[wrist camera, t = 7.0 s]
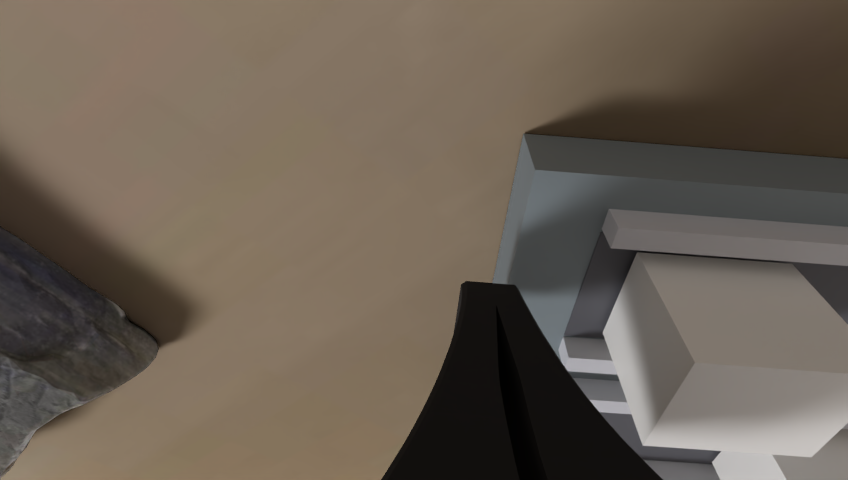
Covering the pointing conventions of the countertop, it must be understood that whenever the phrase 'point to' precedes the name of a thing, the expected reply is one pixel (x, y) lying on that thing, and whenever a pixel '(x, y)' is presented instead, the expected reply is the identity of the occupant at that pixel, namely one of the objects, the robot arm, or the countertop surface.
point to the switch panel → (658, 243)
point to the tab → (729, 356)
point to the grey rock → (56, 345)
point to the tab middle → (787, 464)
